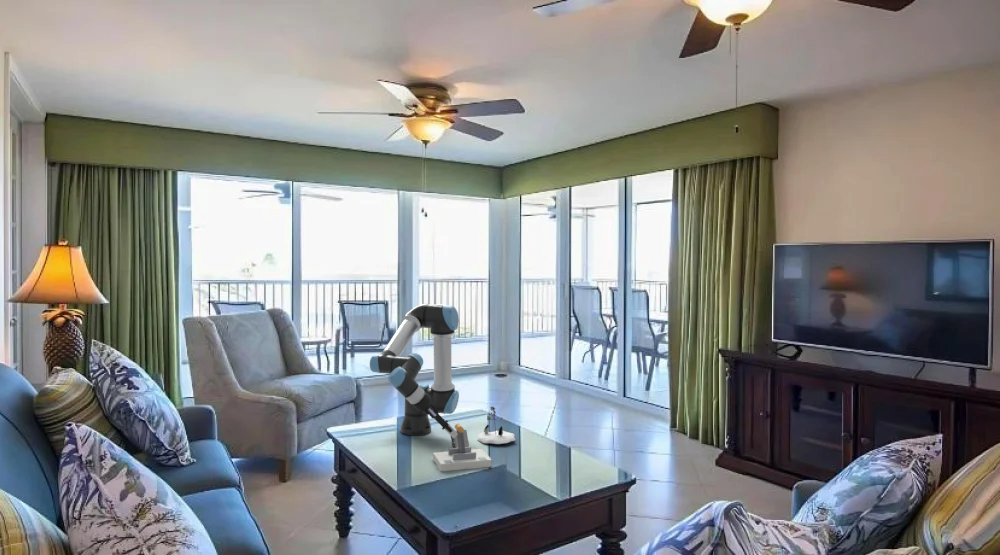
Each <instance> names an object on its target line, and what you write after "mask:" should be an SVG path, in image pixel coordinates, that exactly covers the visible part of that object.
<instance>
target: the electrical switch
mask: <svg viewBox="0 0 1000 555" xmlns="http://www.w3.org/2000/svg"><path fill="white" fill-rule="evenodd" d="M463 436H464V444H465V447H470V444H469V443H470V442H469V436H468V431H467V429H464V432H463ZM450 440H451V444H452V445H451V446H452V448H458V440H457V436H456V437H455V438H453V437H452V436H451V435H450Z"/></svg>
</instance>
